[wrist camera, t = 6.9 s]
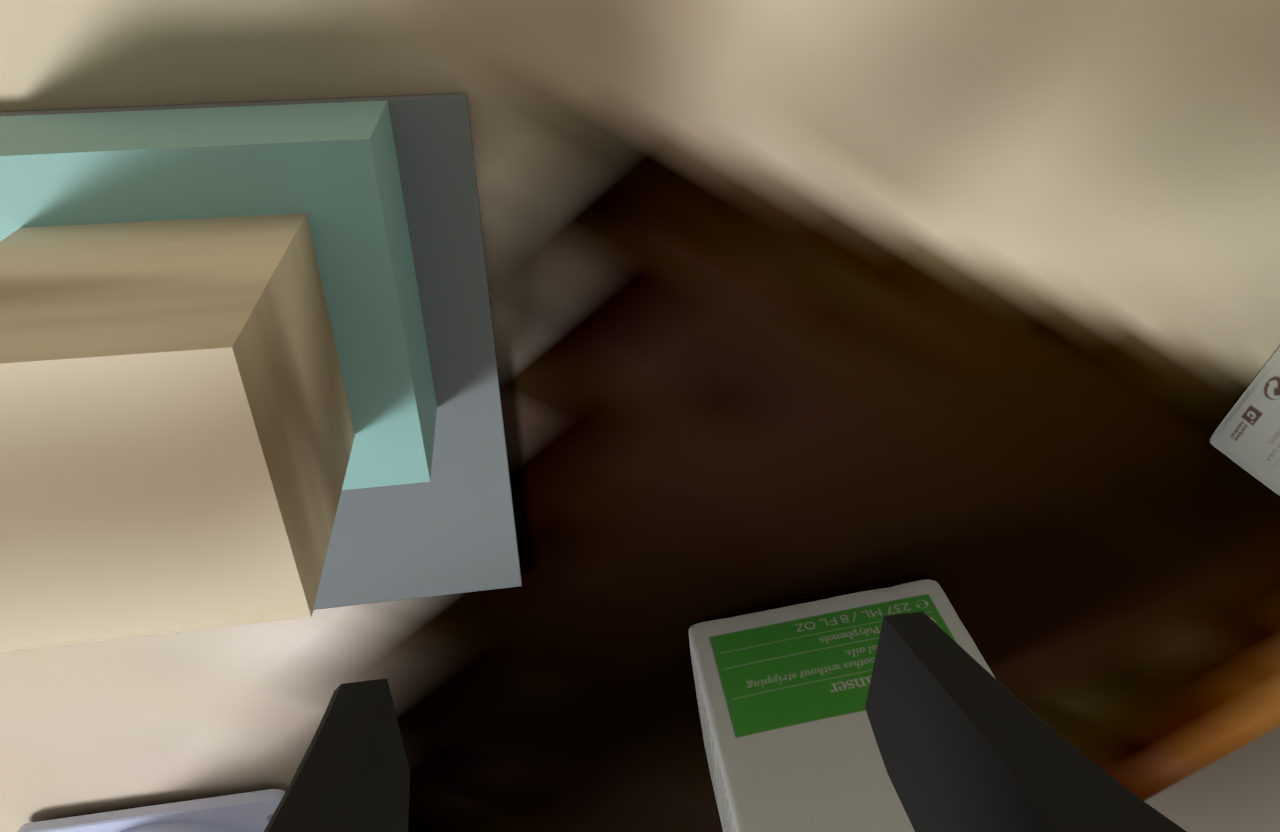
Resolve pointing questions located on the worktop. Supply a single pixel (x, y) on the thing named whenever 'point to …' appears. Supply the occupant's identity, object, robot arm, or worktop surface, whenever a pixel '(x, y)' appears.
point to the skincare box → (804, 710)
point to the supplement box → (1255, 427)
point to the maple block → (165, 428)
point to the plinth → (252, 186)
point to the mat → (462, 377)
